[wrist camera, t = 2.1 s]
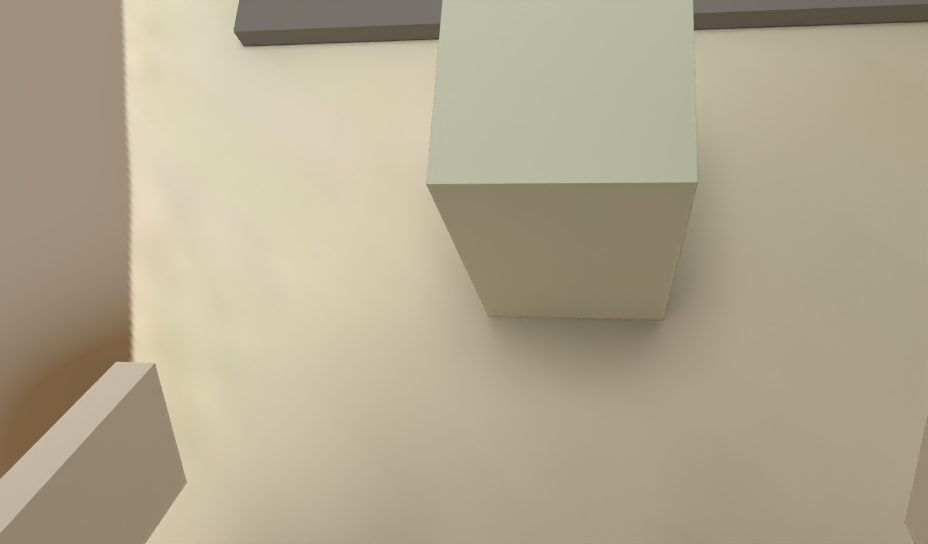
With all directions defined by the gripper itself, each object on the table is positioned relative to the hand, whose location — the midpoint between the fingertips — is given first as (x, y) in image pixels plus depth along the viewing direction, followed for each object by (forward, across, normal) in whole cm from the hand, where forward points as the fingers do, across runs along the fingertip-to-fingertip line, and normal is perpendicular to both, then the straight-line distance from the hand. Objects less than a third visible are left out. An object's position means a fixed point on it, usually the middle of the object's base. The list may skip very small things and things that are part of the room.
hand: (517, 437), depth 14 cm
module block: (+16, 0, -3) cm, 16 cm away
